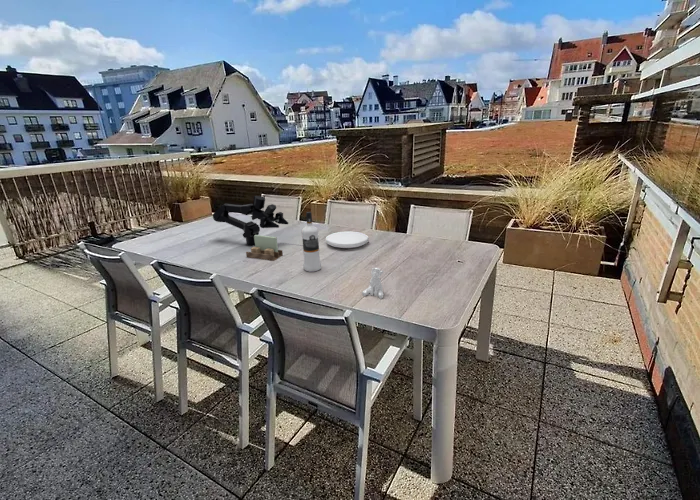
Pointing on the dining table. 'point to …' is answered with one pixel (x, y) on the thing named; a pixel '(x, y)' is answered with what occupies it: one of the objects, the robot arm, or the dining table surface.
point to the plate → (347, 239)
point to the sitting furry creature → (375, 284)
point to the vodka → (310, 246)
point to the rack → (265, 255)
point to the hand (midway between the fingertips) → (283, 225)
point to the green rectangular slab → (266, 242)
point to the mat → (291, 244)
